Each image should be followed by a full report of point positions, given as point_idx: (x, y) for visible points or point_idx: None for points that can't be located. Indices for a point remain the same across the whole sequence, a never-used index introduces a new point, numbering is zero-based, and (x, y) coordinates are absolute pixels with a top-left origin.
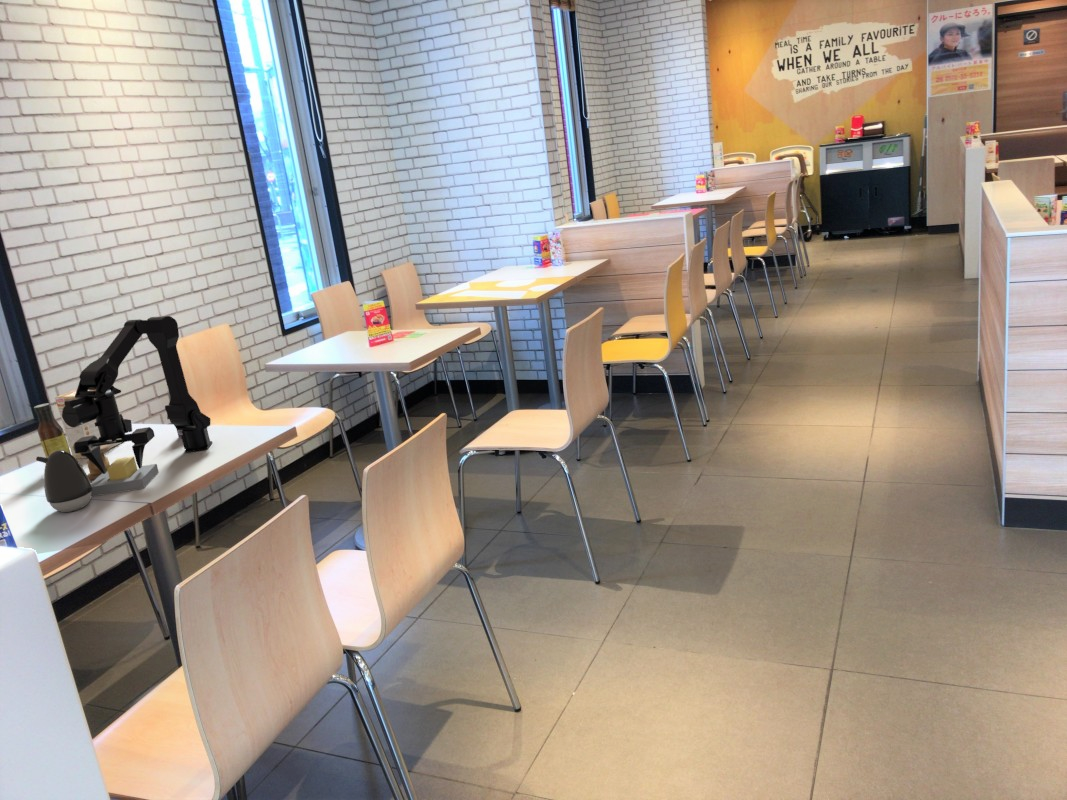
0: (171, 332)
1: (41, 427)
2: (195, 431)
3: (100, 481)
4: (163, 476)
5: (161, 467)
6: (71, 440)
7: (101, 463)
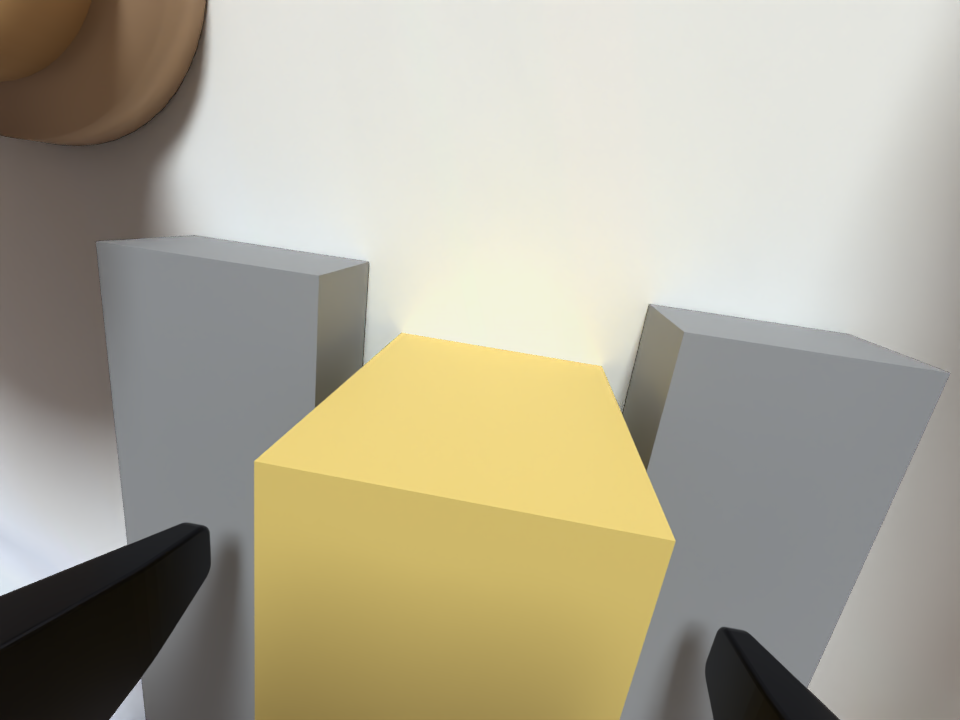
0: None
1: None
2: None
3: (231, 641)
4: (895, 535)
5: (900, 98)
6: None
7: (47, 717)
